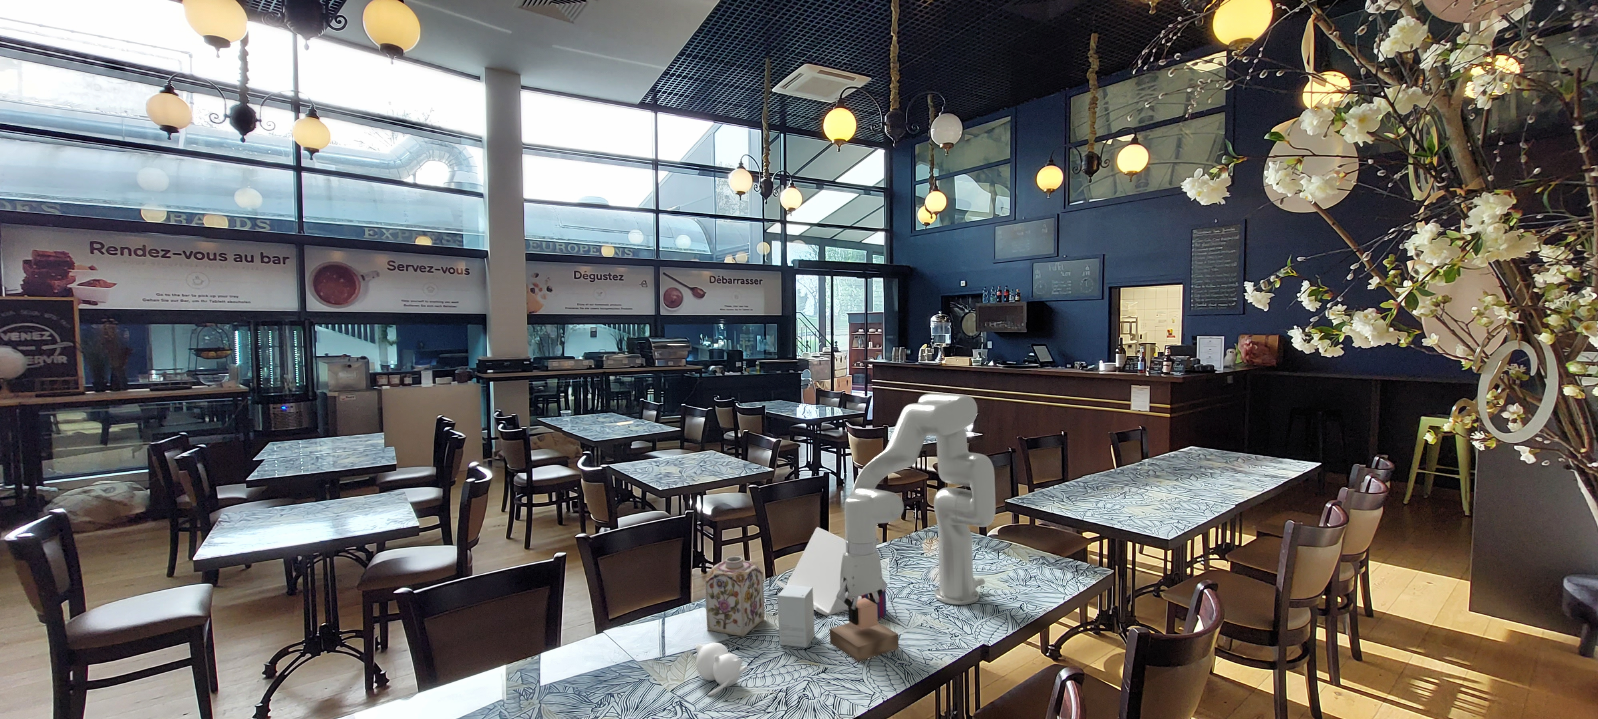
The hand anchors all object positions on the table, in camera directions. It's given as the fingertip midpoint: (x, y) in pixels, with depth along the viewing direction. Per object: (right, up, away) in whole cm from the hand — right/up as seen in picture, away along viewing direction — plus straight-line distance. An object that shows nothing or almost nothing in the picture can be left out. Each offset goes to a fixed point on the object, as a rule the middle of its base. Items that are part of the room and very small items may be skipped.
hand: (863, 619), depth 160 cm
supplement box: (-16, -7, +4) cm, 18 cm away
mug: (+3, -6, +18) cm, 20 cm away
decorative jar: (-33, -8, +14) cm, 36 cm away
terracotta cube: (0, -1, 0) cm, 1 cm away
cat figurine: (-34, -8, -15) cm, 38 cm away
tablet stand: (-9, -7, +32) cm, 34 cm away
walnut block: (0, -7, 0) cm, 7 cm away
